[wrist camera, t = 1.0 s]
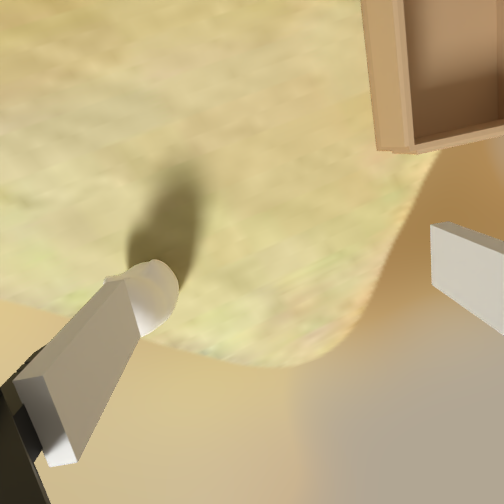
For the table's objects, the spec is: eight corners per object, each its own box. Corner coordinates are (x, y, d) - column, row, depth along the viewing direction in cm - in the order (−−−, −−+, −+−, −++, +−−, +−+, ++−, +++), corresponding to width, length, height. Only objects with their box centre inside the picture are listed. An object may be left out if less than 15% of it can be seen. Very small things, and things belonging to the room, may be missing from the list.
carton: (345, -100, 34) (377, -172, 26) (496, -136, 34) (573, -219, 26) (373, 155, 41) (405, 157, 33) (499, 127, 40) (561, 122, 33)
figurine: (165, 243, 43) (139, 279, 31) (191, 298, 45) (176, 351, 33) (111, 264, 43) (66, 307, 32) (139, 317, 45) (106, 376, 34)
